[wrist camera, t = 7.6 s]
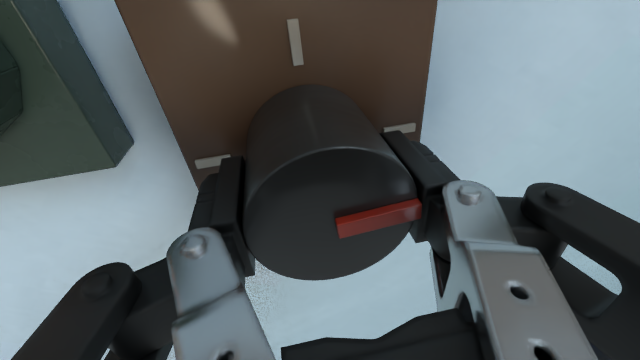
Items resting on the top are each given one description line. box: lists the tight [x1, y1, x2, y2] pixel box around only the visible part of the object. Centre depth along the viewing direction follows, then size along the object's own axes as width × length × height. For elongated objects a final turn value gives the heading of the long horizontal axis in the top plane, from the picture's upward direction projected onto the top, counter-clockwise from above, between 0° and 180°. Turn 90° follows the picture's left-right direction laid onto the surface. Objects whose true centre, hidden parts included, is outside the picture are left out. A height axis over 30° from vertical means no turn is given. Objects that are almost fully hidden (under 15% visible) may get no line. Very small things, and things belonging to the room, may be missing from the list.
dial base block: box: [114, 0, 438, 190], centre depth 13 cm, size 12×10×3 cm
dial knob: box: [242, 85, 422, 280], centre depth 10 cm, size 5×5×5 cm
